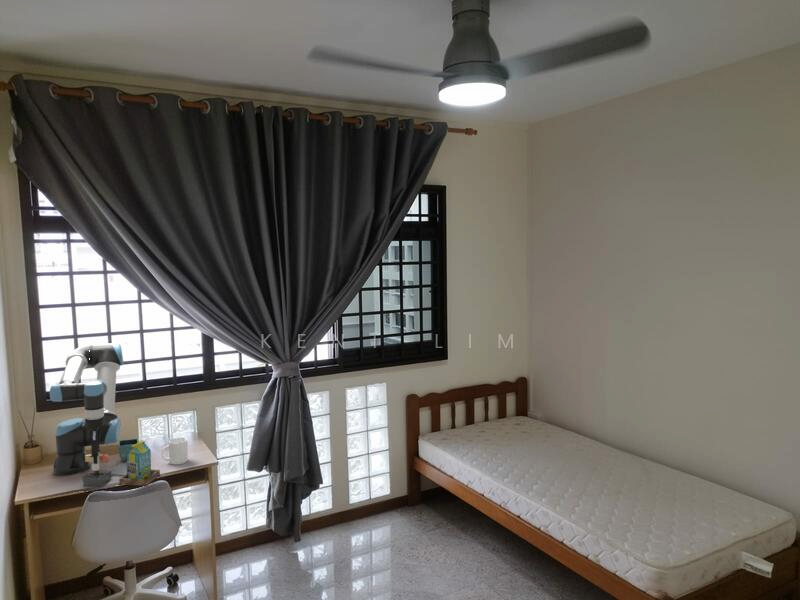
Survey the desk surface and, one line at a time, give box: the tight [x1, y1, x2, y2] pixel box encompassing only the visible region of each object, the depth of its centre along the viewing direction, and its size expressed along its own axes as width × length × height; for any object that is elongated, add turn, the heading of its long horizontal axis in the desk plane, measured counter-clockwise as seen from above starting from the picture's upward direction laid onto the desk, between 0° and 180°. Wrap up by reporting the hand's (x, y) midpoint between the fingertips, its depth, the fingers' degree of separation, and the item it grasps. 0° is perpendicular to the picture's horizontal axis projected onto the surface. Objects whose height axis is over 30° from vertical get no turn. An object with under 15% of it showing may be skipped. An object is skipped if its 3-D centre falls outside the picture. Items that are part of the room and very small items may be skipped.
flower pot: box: [117, 438, 139, 463], centre depth 275 cm, size 9×9×9 cm
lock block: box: [82, 469, 112, 488], centre depth 248 cm, size 8×8×4 cm
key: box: [85, 453, 109, 474], centre depth 248 cm, size 9×2×8 cm, turn 90°
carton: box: [126, 440, 152, 479], centre depth 252 cm, size 7×8×18 cm
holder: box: [118, 468, 161, 487], centre depth 252 cm, size 13×12×2 cm
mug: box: [161, 437, 189, 466], centre depth 272 cm, size 9×12×11 cm
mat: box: [110, 461, 127, 477], centre depth 263 cm, size 14×14×1 cm
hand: (96, 468), depth 248 cm, fingers closed on key, 3 cm apart
